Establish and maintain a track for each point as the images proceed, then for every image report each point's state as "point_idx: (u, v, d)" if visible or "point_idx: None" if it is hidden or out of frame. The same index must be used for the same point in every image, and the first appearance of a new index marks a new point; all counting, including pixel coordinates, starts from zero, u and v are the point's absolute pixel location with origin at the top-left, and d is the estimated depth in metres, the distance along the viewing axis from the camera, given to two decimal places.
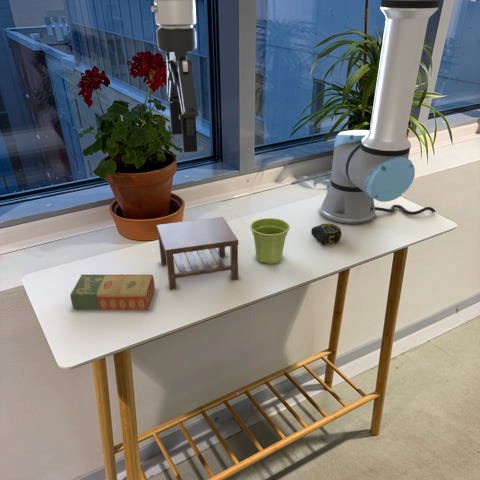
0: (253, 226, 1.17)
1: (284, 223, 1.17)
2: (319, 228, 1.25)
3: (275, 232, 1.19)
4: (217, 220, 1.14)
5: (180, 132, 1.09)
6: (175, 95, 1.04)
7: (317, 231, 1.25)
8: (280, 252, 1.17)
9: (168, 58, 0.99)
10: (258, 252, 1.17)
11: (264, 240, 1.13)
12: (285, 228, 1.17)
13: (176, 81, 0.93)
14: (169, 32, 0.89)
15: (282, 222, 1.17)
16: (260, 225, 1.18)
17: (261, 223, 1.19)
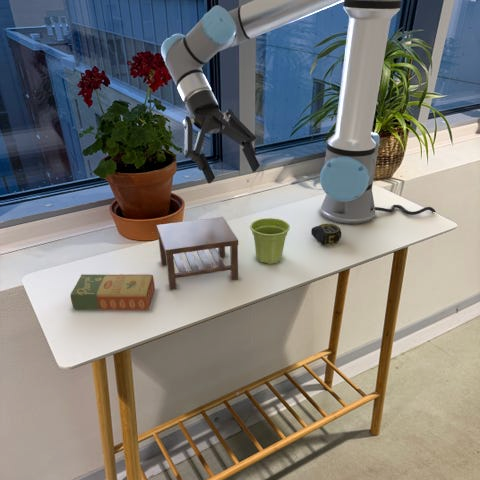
0: (253, 226, 1.17)
1: (284, 223, 1.17)
2: (319, 228, 1.25)
3: (275, 232, 1.19)
4: (217, 220, 1.14)
5: (255, 167, 1.22)
6: (240, 141, 1.22)
7: (317, 231, 1.25)
8: (280, 252, 1.17)
9: None
10: (258, 252, 1.17)
11: (264, 240, 1.13)
12: (285, 228, 1.17)
13: (197, 135, 1.19)
14: (186, 107, 1.20)
15: (282, 222, 1.17)
16: (260, 225, 1.18)
17: (261, 223, 1.19)
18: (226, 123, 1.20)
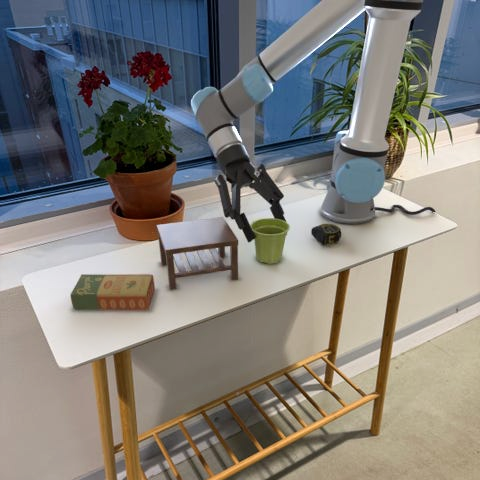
0: (253, 226, 1.17)
1: (284, 223, 1.17)
2: (319, 228, 1.25)
3: (275, 232, 1.19)
4: (217, 220, 1.14)
5: None
6: (268, 198, 1.19)
7: (317, 231, 1.25)
8: (280, 252, 1.17)
9: None
10: (258, 252, 1.17)
11: (264, 240, 1.13)
12: (285, 228, 1.17)
13: (231, 191, 1.17)
14: (216, 160, 1.18)
15: (282, 222, 1.17)
16: (260, 225, 1.18)
17: (261, 223, 1.19)
18: (256, 179, 1.17)
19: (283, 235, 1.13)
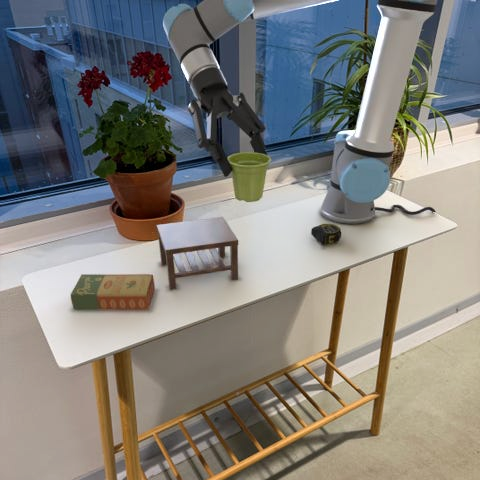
0: (231, 160, 1.05)
1: (265, 157, 1.05)
2: (319, 228, 1.25)
3: None
4: (217, 220, 1.14)
5: None
6: (248, 131, 1.08)
7: (317, 231, 1.25)
8: (260, 189, 1.05)
9: None
10: (236, 189, 1.05)
11: (242, 173, 1.01)
12: (266, 162, 1.05)
13: (207, 120, 1.05)
14: None
15: (263, 156, 1.06)
16: (239, 159, 1.07)
17: (240, 158, 1.07)
18: (235, 107, 1.05)
19: (263, 168, 1.02)
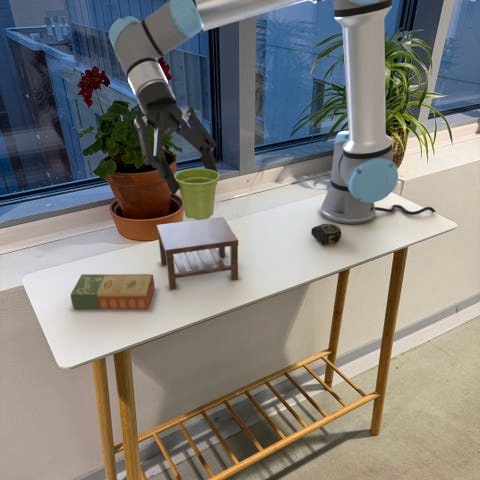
0: (179, 176, 1.02)
1: (215, 173, 1.02)
2: (319, 228, 1.25)
3: None
4: (217, 220, 1.14)
5: None
6: (198, 146, 1.04)
7: (317, 231, 1.25)
8: (210, 206, 1.02)
9: None
10: (185, 206, 1.02)
11: (189, 191, 0.98)
12: (216, 179, 1.02)
13: (154, 136, 1.02)
14: None
15: (213, 172, 1.03)
16: (188, 176, 1.04)
17: (190, 174, 1.04)
18: (183, 122, 1.02)
19: (211, 185, 0.98)
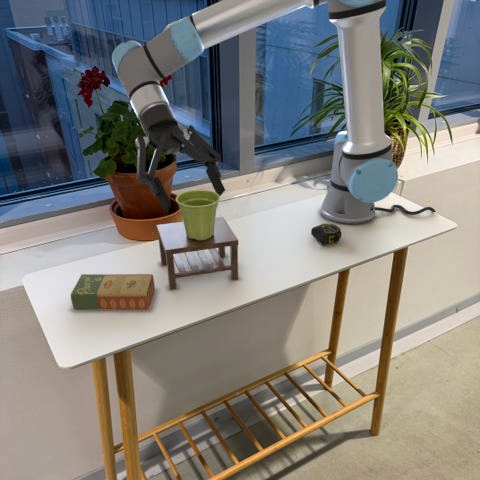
0: (180, 198, 1.05)
1: (215, 195, 1.05)
2: (319, 228, 1.25)
3: None
4: (217, 220, 1.14)
5: (220, 191, 1.07)
6: (203, 161, 1.08)
7: (317, 231, 1.25)
8: (210, 227, 1.05)
9: None
10: (186, 227, 1.05)
11: (190, 213, 1.01)
12: (216, 200, 1.05)
13: (153, 155, 1.04)
14: None
15: (213, 194, 1.06)
16: (189, 197, 1.07)
17: (191, 196, 1.07)
18: (186, 142, 1.05)
19: (211, 207, 1.01)
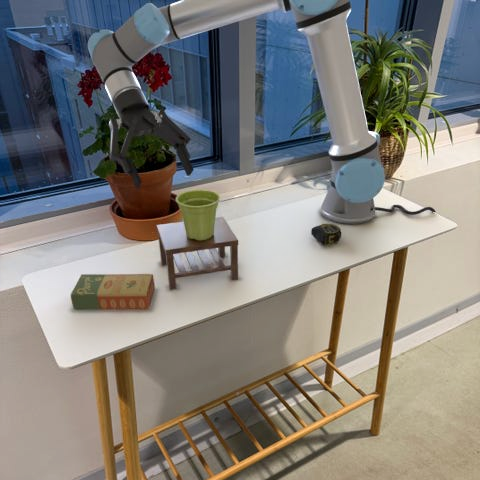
0: (180, 198, 1.05)
1: (215, 195, 1.05)
2: (319, 228, 1.25)
3: None
4: (217, 220, 1.14)
5: (189, 170, 1.15)
6: (173, 143, 1.15)
7: (317, 231, 1.25)
8: (210, 227, 1.05)
9: None
10: (186, 227, 1.05)
11: (190, 213, 1.01)
12: (216, 200, 1.05)
13: None
14: None
15: (213, 194, 1.06)
16: (189, 197, 1.07)
17: (191, 196, 1.07)
18: (157, 124, 1.13)
19: (211, 207, 1.01)
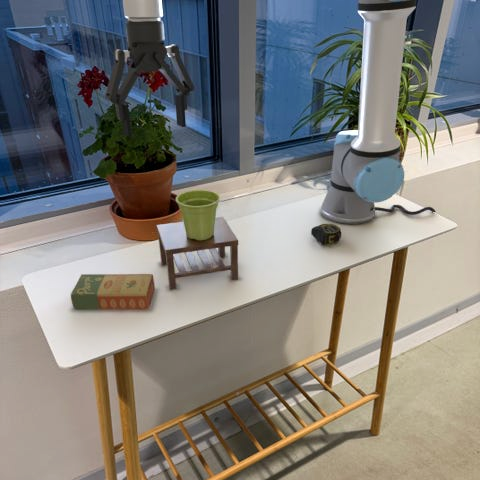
0: (180, 198, 1.05)
1: (215, 195, 1.05)
2: (319, 228, 1.25)
3: None
4: (217, 220, 1.14)
5: (181, 124, 1.11)
6: (176, 87, 1.07)
7: (317, 231, 1.25)
8: (210, 227, 1.05)
9: None
10: (186, 227, 1.05)
11: (190, 213, 1.01)
12: (216, 200, 1.05)
13: (128, 69, 1.00)
14: (125, 23, 0.96)
15: (213, 194, 1.06)
16: (189, 197, 1.07)
17: (191, 196, 1.07)
18: (166, 67, 1.02)
19: (211, 207, 1.01)
